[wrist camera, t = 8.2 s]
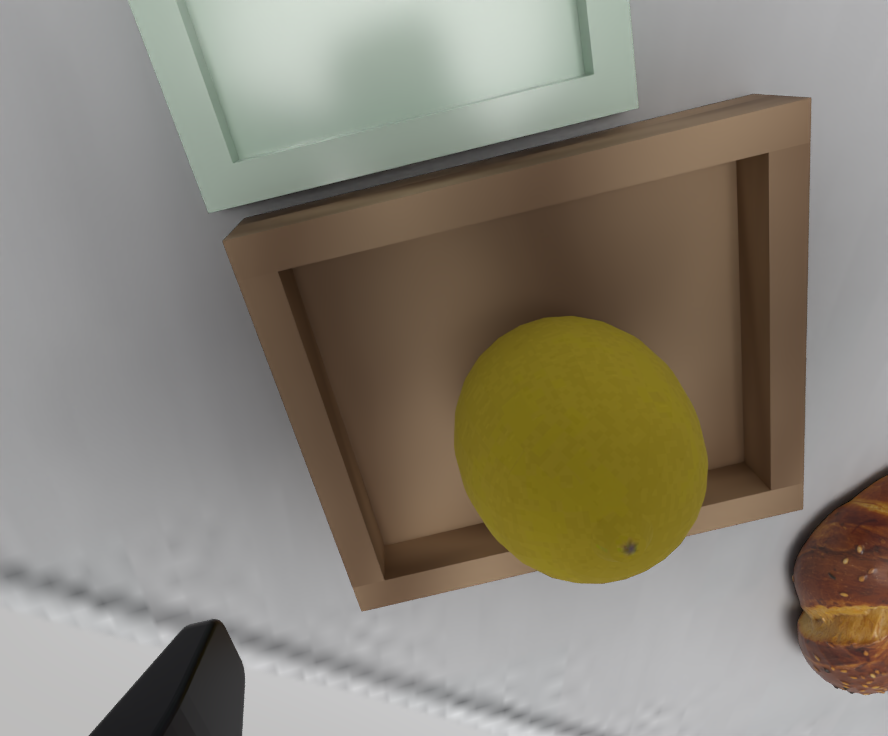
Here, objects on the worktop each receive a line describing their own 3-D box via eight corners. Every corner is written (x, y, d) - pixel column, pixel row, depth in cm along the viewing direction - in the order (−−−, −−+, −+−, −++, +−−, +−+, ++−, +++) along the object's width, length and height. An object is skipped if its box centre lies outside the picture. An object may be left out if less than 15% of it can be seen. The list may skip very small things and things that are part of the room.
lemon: (632, 432, 20) (772, 632, 13) (457, 465, 20) (498, 685, 13) (623, 260, 18) (786, 386, 11) (425, 298, 18) (454, 449, 11)
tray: (364, 555, 23) (361, 611, 20) (243, 218, 18) (222, 241, 15) (758, 463, 22) (803, 509, 20) (753, 94, 17) (811, 97, 15)
